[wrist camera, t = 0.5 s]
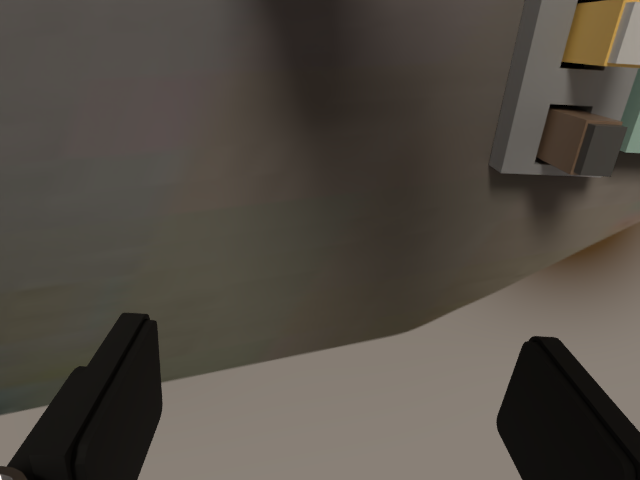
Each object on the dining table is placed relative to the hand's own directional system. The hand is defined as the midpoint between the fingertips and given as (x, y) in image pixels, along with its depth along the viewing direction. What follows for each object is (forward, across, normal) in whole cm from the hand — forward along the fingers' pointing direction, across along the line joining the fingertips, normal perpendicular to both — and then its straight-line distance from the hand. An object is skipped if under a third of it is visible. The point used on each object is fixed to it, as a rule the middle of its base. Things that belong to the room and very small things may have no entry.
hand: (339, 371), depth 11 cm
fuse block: (+34, -23, -6) cm, 41 cm away
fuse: (+34, -23, -10) cm, 42 cm away
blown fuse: (+34, -23, -2) cm, 41 cm away
